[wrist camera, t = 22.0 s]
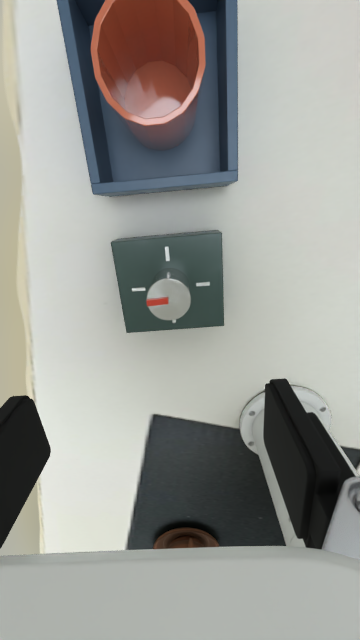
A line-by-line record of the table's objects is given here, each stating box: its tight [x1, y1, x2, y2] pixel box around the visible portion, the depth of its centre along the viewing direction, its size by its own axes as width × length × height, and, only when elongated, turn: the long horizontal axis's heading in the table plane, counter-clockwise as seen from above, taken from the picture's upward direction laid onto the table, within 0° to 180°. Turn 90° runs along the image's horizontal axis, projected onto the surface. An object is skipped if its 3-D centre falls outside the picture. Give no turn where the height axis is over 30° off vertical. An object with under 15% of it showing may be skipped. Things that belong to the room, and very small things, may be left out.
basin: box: [57, 0, 238, 197], centre depth 23 cm, size 14×12×6 cm
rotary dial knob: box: [146, 268, 191, 320], centre depth 27 cm, size 4×4×5 cm
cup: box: [91, 0, 206, 151], centre depth 21 cm, size 7×7×9 cm
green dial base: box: [111, 230, 224, 333], centre depth 30 cm, size 10×11×3 cm
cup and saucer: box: [153, 527, 219, 549], centre depth 48 cm, size 12×12×6 cm
